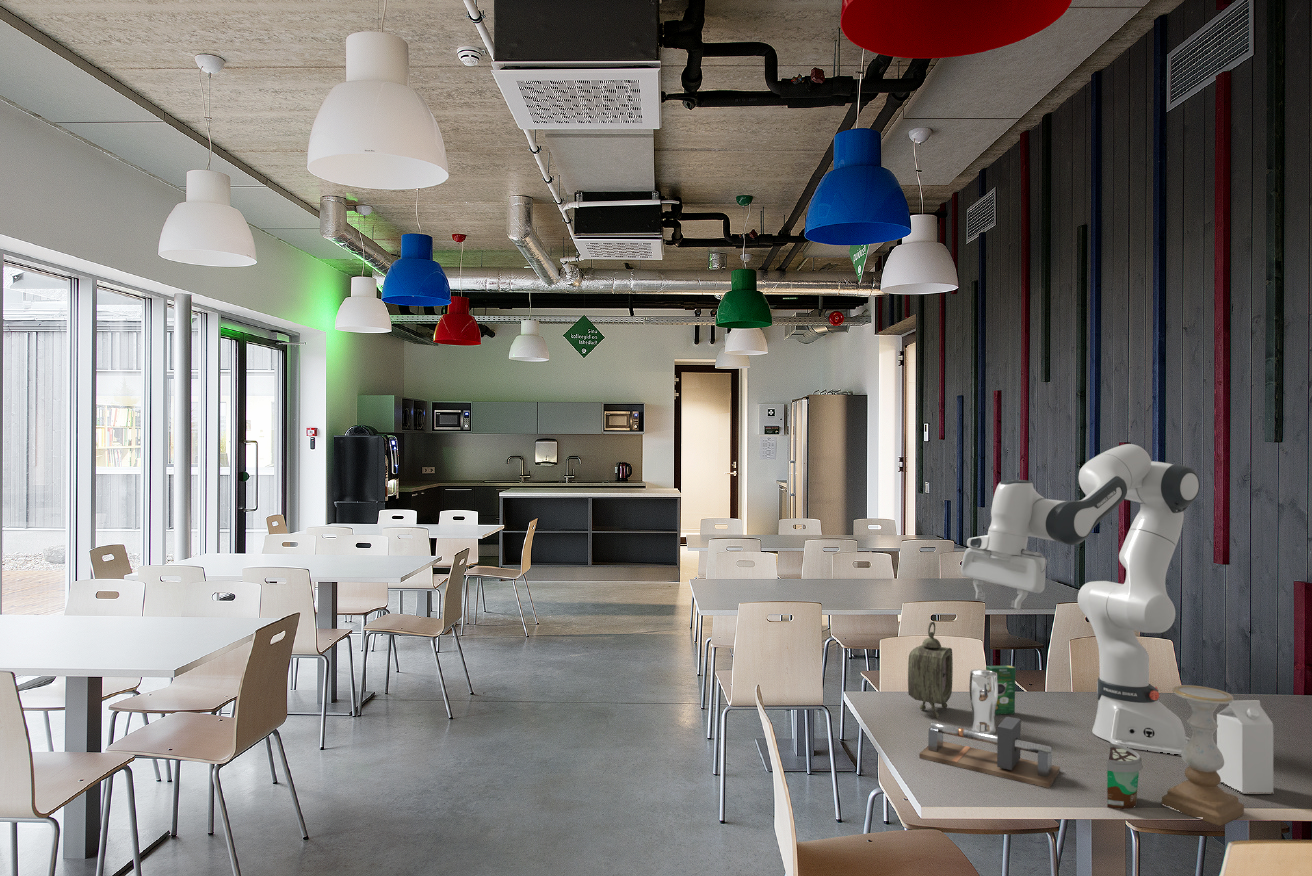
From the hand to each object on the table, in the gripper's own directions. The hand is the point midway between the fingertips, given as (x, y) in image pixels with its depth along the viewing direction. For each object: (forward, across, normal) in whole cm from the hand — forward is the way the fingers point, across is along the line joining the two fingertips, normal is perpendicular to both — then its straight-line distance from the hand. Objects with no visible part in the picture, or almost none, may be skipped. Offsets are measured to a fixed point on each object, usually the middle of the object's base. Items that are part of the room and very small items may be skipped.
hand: (997, 604), depth 190 cm
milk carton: (+29, -40, -38) cm, 62 cm away
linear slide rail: (+37, -3, -1) cm, 37 cm away
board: (+37, -3, -1) cm, 37 cm away
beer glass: (+35, +12, -21) cm, 42 cm away
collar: (+35, -7, -2) cm, 35 cm away
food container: (+34, -31, -7) cm, 47 cm away
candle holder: (+32, -40, -18) cm, 55 cm away
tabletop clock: (+36, +30, -22) cm, 51 cm away
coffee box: (+33, +19, -37) cm, 53 cm away
